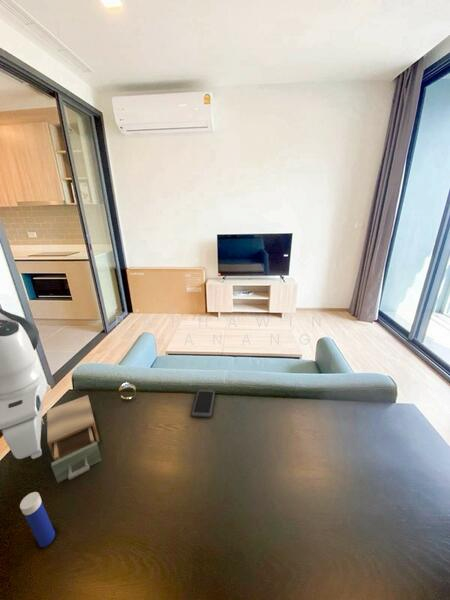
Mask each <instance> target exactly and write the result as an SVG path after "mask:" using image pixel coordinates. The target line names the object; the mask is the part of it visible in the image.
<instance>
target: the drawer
mask: <svg viewBox="0 0 450 600" xmlns="http://www.w3.org/2000/svg"><path fill="white" fill-rule="evenodd" d="M54 459H55V461H54ZM54 459H53V461H52V462H51V463H50V464H51V465H50V466H51V469H52V472H53V474H54V477H55V480H56V482H57V484H59V483H60V482H63V481H64V480H66V479H68V481H71V480H73V479H74V478H77V477H78V476H80V475H82V474H83V473H86V472H88V471H90V467H92V466H93V465H95V464H97V463H99V462H101V461H102V456H101V453H100V449H99V445H98V443H97V442H95V441H94V436H93V432H92V428H91V426H90V427H88V428H86V429H83V430H81V431H79V432H77V433H74V434H72V435H70V436H68V437H65V438H63V439H61V440H58V441H56V442H54Z"/></svg>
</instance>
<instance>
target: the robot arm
mask: <svg viewBox="0 0 450 600" xmlns="http://www.w3.org/2000/svg"><path fill="white" fill-rule="evenodd" d="M39 341H40V332H39V329H38V327H37V326H36V324H34V323H33V322H32V321H31V320H29V319H27V318H25V317H23V316H20V315H18V314H15V313H11V312H8V311H6V310H4V309H2V308H0V431H2V436H3V438H4V440H5V442H6V444H7V446H8V448H9V450H10V452H11V453H12V456H13V457H14V458H15V459H17V460H23V459H26V458H28V457H30V458H31V459H32V460H35V459H37V458H40V457H41V456H42V455H43V449H42V446H41V436H42V427H43V426H44V418H43V405H44V404H43V403H44V401H43V400H44V396H45V395H46V393H47V392H48V391H47V389H48V388H47V385H46V382H45V379H44V375H43V373H42V370H41V369H40V367H39V366H38V365H37V362H36V360H37V359H36V357H37V356H36V352H35V350H36V349H37V347H38V344H39Z"/></svg>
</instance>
